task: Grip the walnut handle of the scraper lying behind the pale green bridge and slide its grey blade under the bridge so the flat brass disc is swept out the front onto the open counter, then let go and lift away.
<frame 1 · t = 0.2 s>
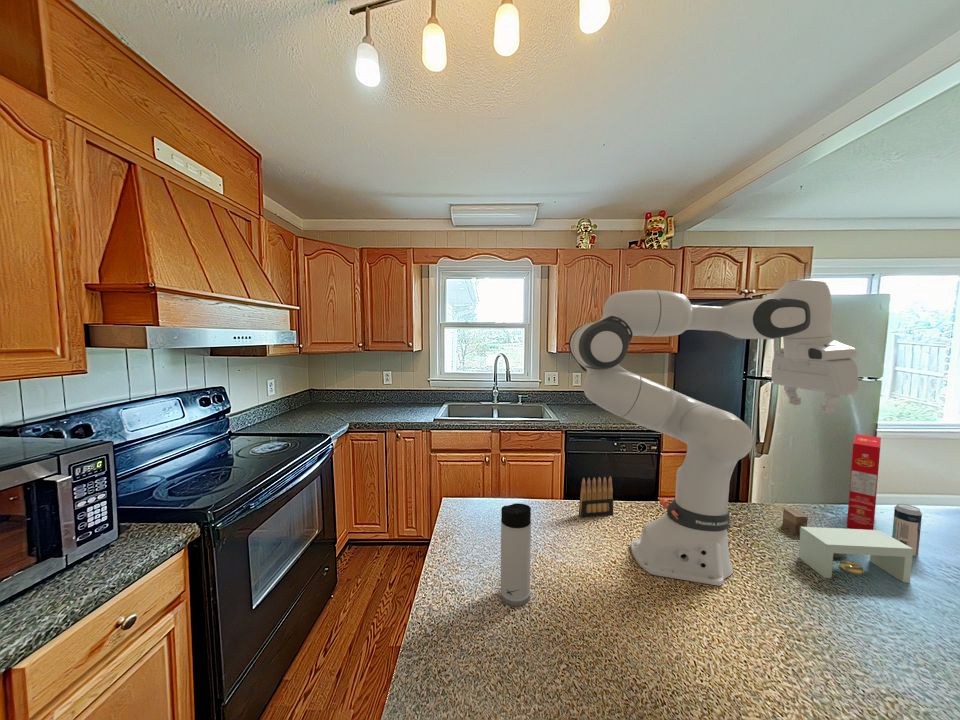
hand: (810, 408, 89), 39 cm above the countertop, fingers open, 8 cm apart
pale green bridge: (851, 569, 90), on the countertop
food packaging: (860, 523, 112), on the countertop
travel mug: (515, 597, 80), on the countertop
brass disc: (851, 570, 90), on the countertop
ammunition clip: (596, 515, 117), on the countertop
scraper: (794, 529, 109), on the countertop
beer can: (904, 552, 97), on the countertop
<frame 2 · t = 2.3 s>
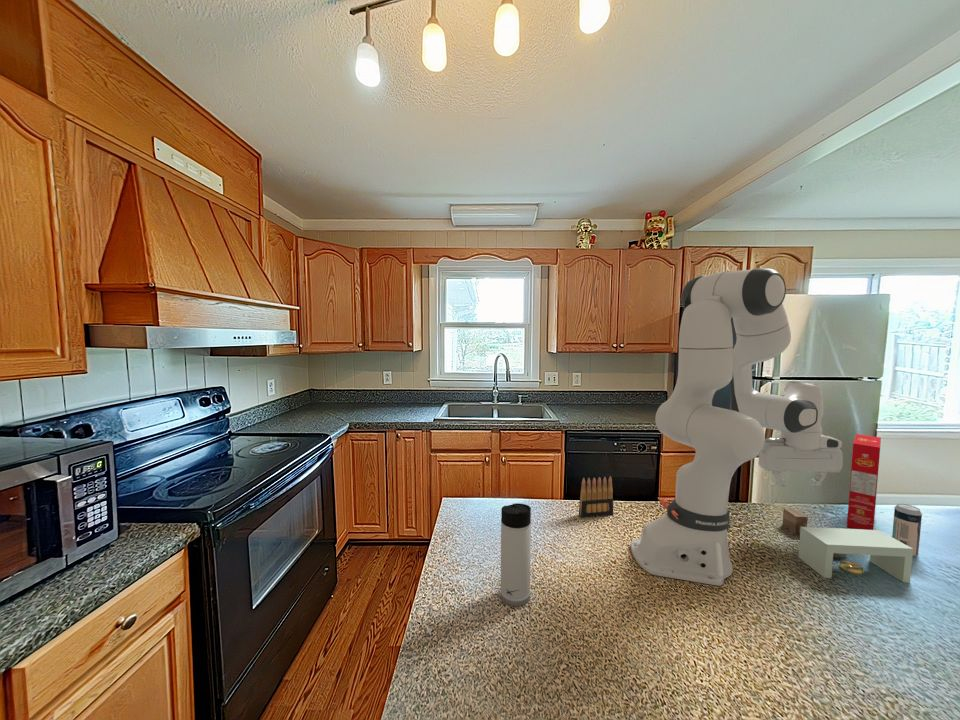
hand: (798, 485, 108), 13 cm above the countertop, fingers open, 8 cm apart
nothing on the countertop moved.
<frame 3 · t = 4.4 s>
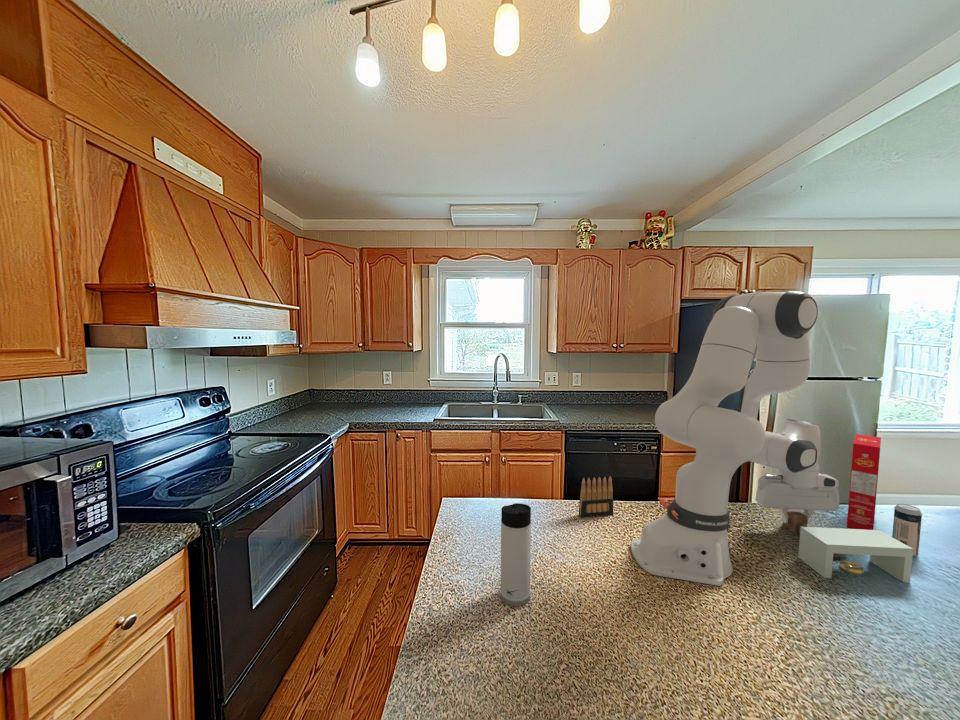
hand: (794, 522, 108), 2 cm above the countertop, fingers closed on scraper, 3 cm apart
scraper: (794, 529, 109), on the countertop, touching gripper
everything else where it was.
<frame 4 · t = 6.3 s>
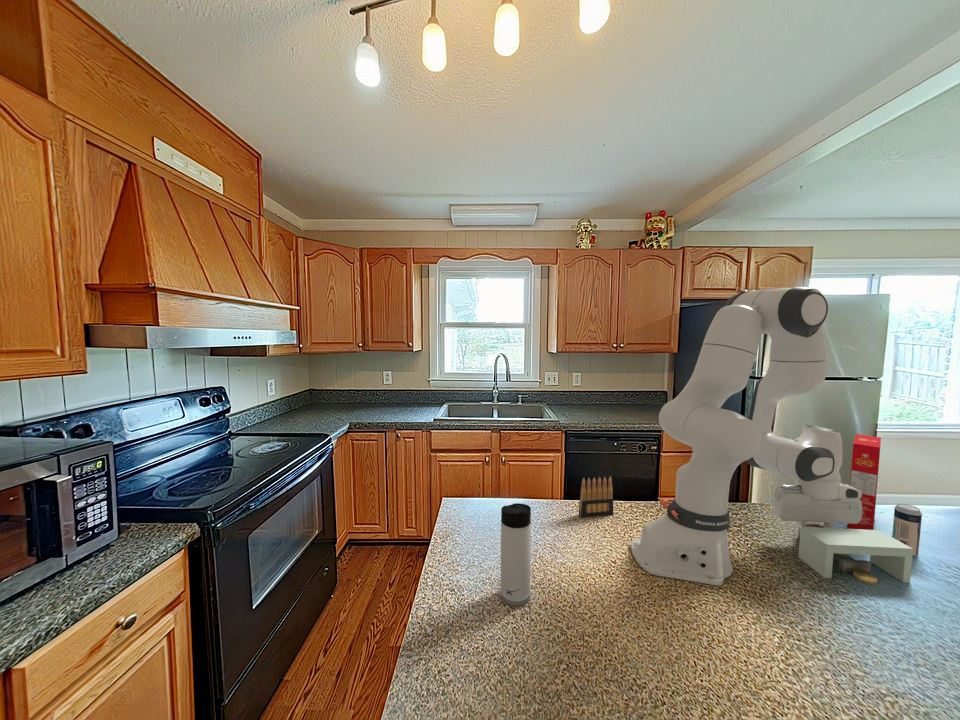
hand: (813, 536, 101), 2 cm above the countertop, fingers closed on scraper, 3 cm apart
brass disc: (864, 579, 87), on the countertop, touching scraper
scraper: (811, 541, 102), on the countertop, touching brass disc, gripper
everything else where it was.
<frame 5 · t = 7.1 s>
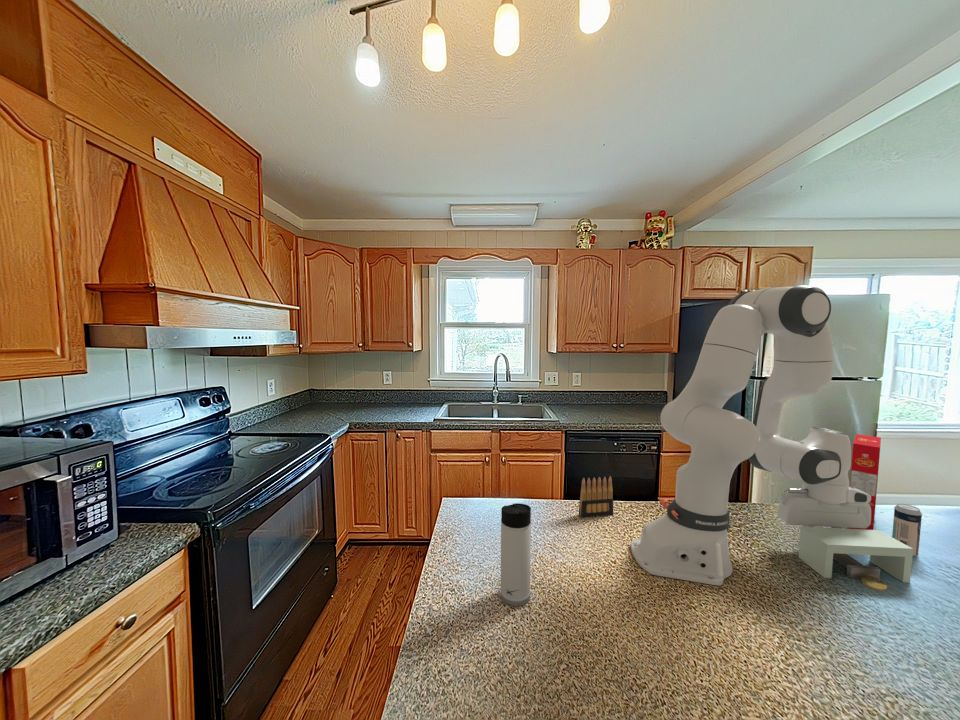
hand: (821, 540, 99), 2 cm above the countertop, fingers closed on scraper, 3 cm apart
brass disc: (873, 586, 85), on the countertop
scraper: (818, 546, 100), on the countertop, touching gripper
everything else where it was.
when the fingers open (2 cm above the countertop, at t = 8.1 s): scraper stays where it is, on the countertop.
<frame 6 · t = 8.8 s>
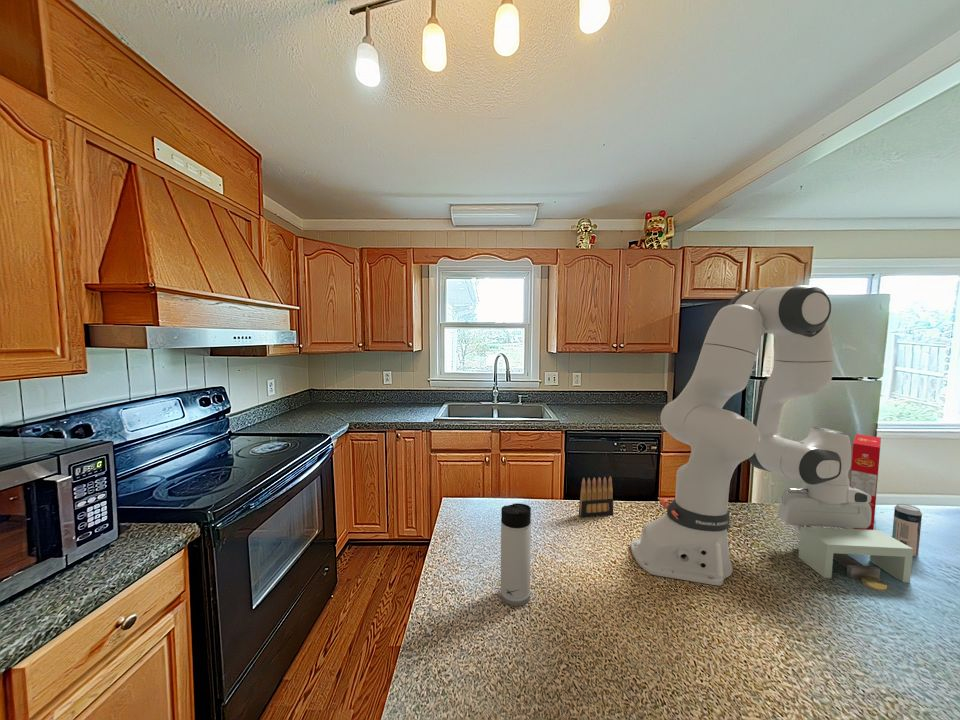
hand: (821, 541, 99), 2 cm above the countertop, fingers open, 8 cm apart
scraper: (818, 546, 100), on the countertop
everything else where it was.
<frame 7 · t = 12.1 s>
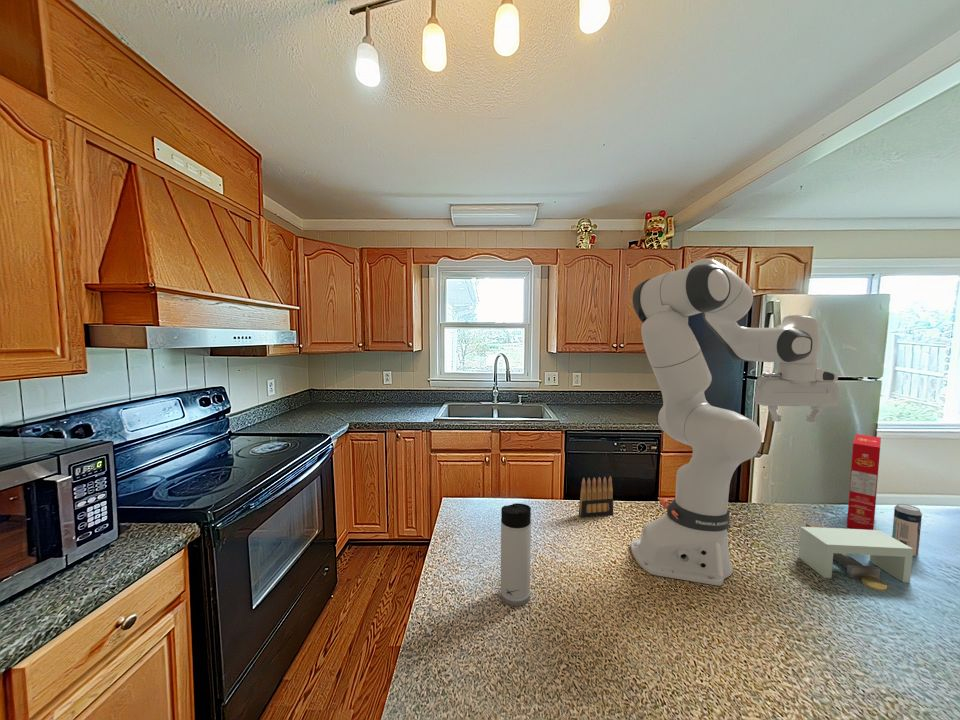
hand: (793, 421, 108), 31 cm above the countertop, fingers open, 8 cm apart
nothing on the countertop moved.
at the end: brass disc inside the target area (4.8 cm from its centre), on the countertop; the gripper is holding nothing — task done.
